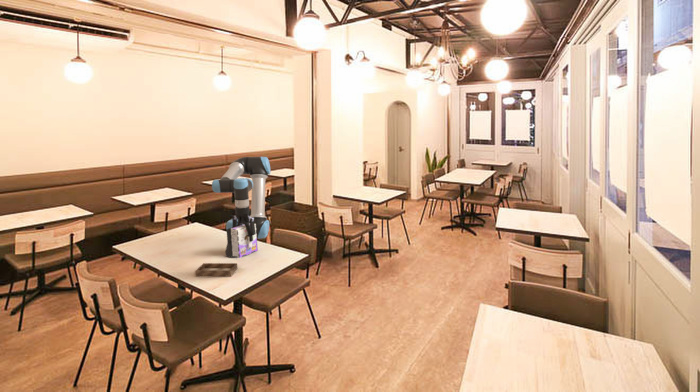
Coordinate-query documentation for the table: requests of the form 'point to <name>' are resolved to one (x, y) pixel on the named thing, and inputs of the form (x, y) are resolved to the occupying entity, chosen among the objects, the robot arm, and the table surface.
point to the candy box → (242, 241)
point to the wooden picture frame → (216, 270)
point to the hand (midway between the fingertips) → (244, 245)
